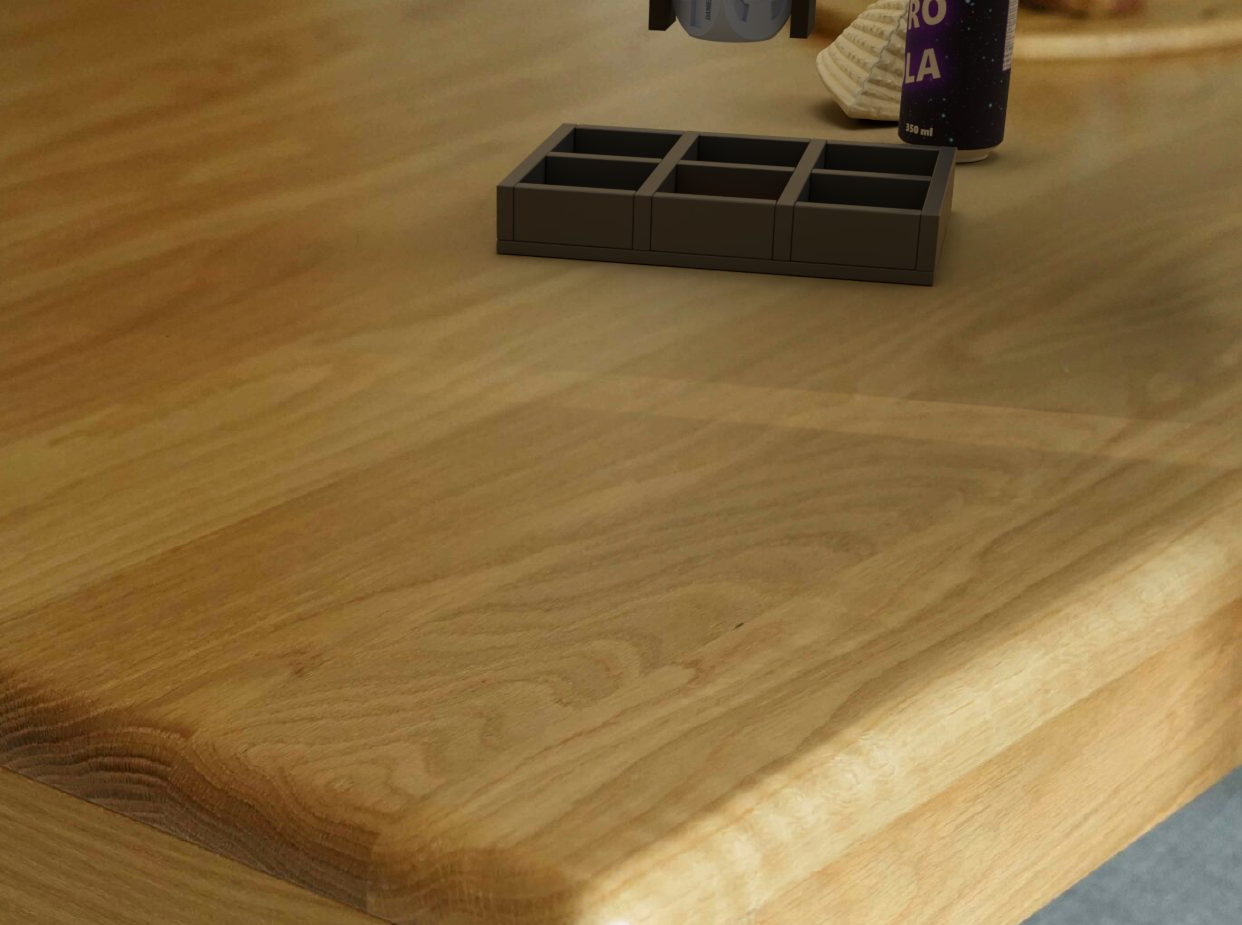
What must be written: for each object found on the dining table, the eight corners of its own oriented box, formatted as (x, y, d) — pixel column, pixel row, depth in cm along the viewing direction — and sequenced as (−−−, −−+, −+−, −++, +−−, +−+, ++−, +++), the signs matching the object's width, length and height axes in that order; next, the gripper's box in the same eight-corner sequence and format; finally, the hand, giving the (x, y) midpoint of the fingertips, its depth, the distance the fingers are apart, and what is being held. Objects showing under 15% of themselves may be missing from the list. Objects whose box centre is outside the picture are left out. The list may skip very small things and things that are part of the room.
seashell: (981, 63, 124) (986, 13, 116) (907, 184, 124) (906, 143, 116) (865, 0, 125) (862, -53, 117) (792, 120, 126) (783, 76, 118)
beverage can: (925, 137, 116) (945, -89, 111) (1018, 151, 113) (1044, -80, 108) (878, 155, 112) (896, -78, 107) (973, 171, 109) (998, -69, 104)
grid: (951, 210, 102) (957, 147, 100) (932, 285, 90) (939, 215, 89) (561, 183, 106) (562, 122, 104) (496, 253, 94) (496, 185, 93)
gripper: (507, -596, 79) (506, 32, 89) (1000, -598, 75) (938, 56, 86) (552, -579, 85) (546, 4, 96) (1008, -580, 82) (949, 26, 92)
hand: (731, 28), depth 91 cm, fingers closed on decorative dice, 5 cm apart
